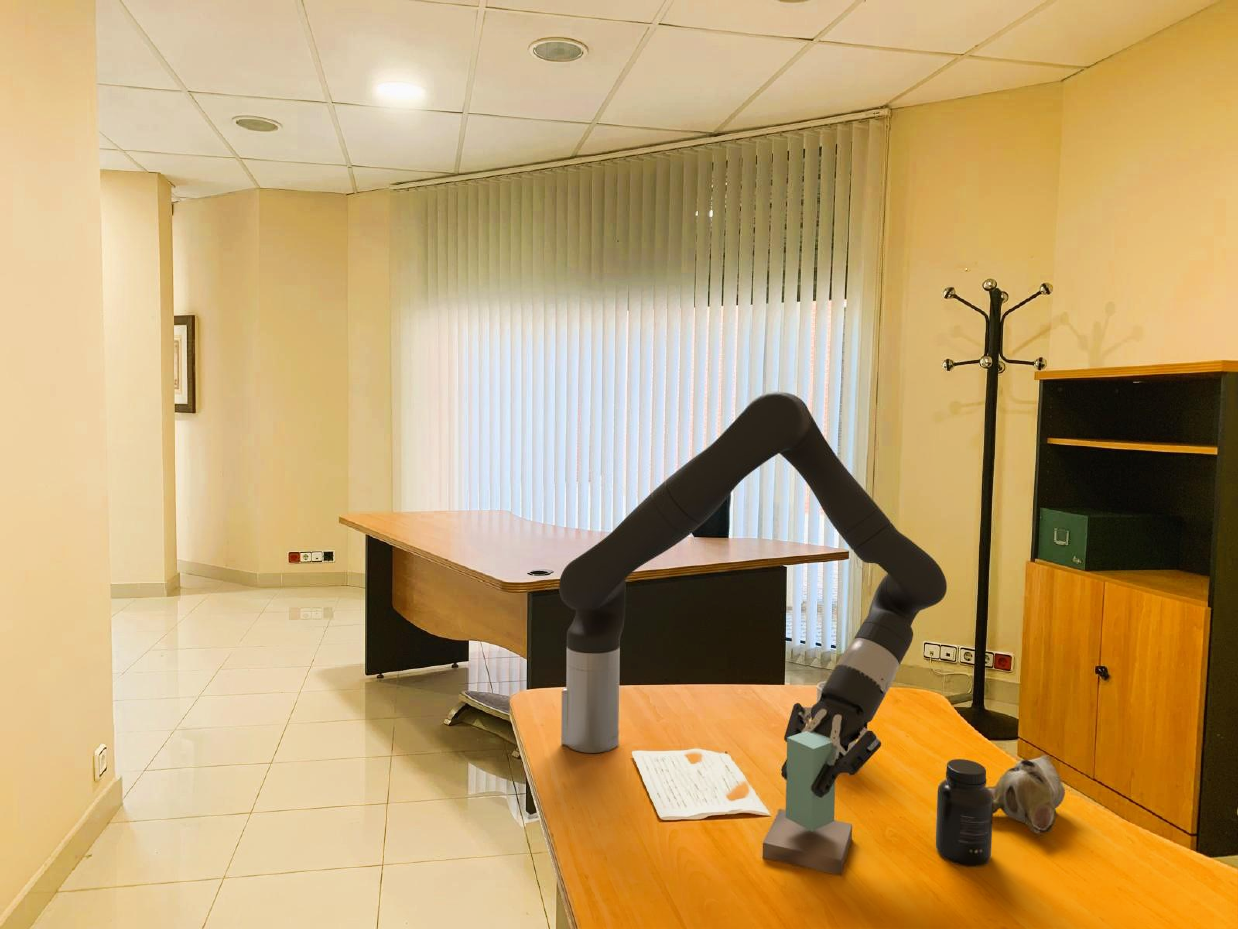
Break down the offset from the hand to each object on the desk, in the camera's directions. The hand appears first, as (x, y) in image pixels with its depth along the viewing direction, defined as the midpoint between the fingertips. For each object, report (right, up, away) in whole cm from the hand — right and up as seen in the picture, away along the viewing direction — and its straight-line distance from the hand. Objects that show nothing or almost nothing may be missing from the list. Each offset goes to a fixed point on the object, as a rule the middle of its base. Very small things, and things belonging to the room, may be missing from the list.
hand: (801, 786), depth 108 cm
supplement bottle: (+22, -9, +1) cm, 24 cm away
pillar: (+1, -5, +2) cm, 6 cm away
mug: (+14, -7, +32) cm, 36 cm away
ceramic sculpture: (+35, -9, +11) cm, 37 cm away
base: (+1, -9, +2) cm, 9 cm away
